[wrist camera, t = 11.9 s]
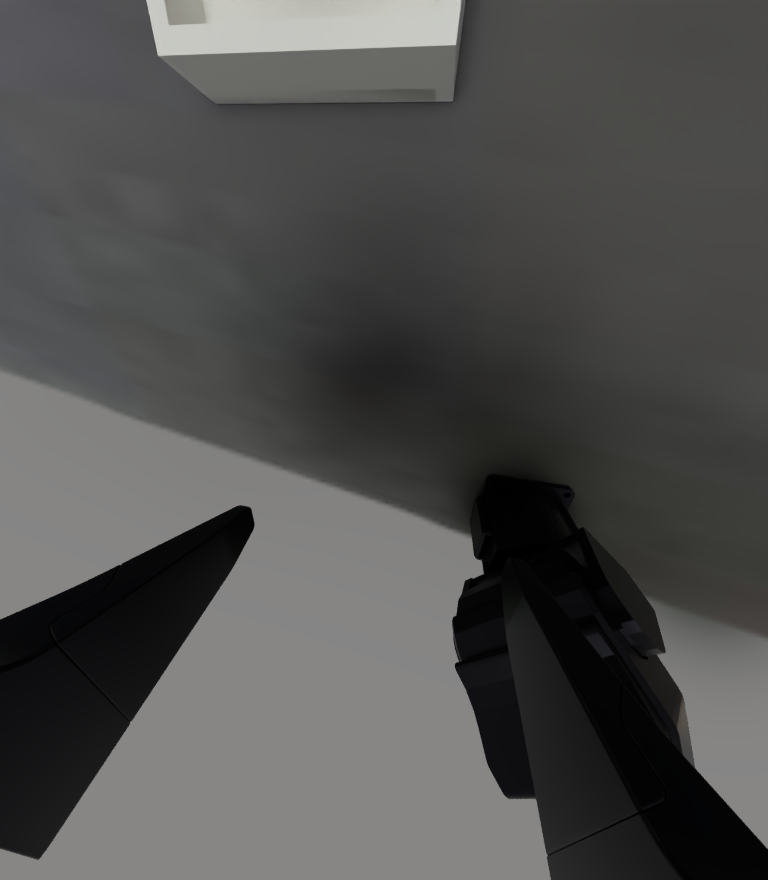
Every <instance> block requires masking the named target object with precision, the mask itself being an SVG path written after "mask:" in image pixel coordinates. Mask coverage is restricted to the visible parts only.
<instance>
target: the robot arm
mask: <svg viewBox="0 0 768 880" xmlns="http://www.w3.org/2000/svg"><path fill="white" fill-rule="evenodd" d="M490 481H495V482H494V483H490ZM568 492H569V493H568ZM565 493H568V494H565ZM564 494H565V495H564ZM574 495H575V494H574V492H573V490H572V489H571V488H570V487H566V486H560V485H553V484H547V483H540V482H534V481H528V480H521V479H515V478H509V477H502V476H496V475H490V476H488V477H487V478H486V480H485V483H484V487H483V490H482V493H481V497H477V498H476V500H475V504H474V507H473V510H472V514H471V517H470V526H471V534H472V542H473V550H474V556H475V558H476V559H478V560H482V564H483V571H484V574H483V575H481V576H479V577H476V578H474V579H473V578H470V579H468V580H466V581H465V583H464V587H463V591H462V595H461V597H460V598H459V601H458V608H457V615H456V616H454V617H453V620H452V627H453V639H454V645H455V650H456V653H457V657H458V660H459V662H457V663H456V664H455V668H456V671H457V673H458V675H459V677H460V678H461V681H462V683H463V685H464V687H465V689H466V691H467V694H468V696H469V699H470V702H471V705H472V707H473V710H474V713H475V716H476V720H477V724H478V727H479V732H480V735H481V740H482V744H483V748H484V752H485V756H486V760H487V763H488V766H489V768H490V770H491V772H492V774H493V776H494V778H495V779H496V781H497V783H498V785H499V787H500V788H501V790H502V792H503V794H504V795H505V796H506V797H507V798H509V799H536V800H537V805H538V811H539V816H540V821H541V826H542V832H543V837H544V843H545V848H546V853H547V855H548V856H547V860H548V866H549V871H550V876H551V880H768V849H767V848H766V847H765V846H764V845H763V843H762V842H761V841H760V840H759V839H758V838H757V837H756V836H755V835H754V834H753V832H752V831H751V830H750V829H749V828H748V827H747V826H746V825H745V823H744V822H743V821H742V820H741V819H740V818H739V817H738V816H737V815H736V814H735V812H734V811H733V810H732V809H731V808H730V807H729V806H728V805H727V803H726V802H725V801H724V800H723V799H722V798H721V797H720V796H719V794H718V793H717V792H716V791H715V790H714V789H713V788H712V787H711V786H710V785H709V783H708V782H707V781H706V780H705V779H704V778H703V777H702V776H701V774H700V773H699V772H697V770H696V769H695V765H694V758H693V752H692V747H691V740H690V734H689V727H688V721H687V716H686V709H685V702H684V699H683V695H682V693H681V692H680V690H679V688H678V687H677V685H676V683H675V682H674V680H673V679H672V677H671V676H670V674H669V673H668V671H667V670H666V668H665V667H664V666H663V664H662V662H661V661H660V659H659V658H658V656H657V655H658V654H663V653H665V647H664V643H663V639H662V636H661V632H660V628H659V625H658V622H657V618H656V614H655V611H654V609H653V608H652V606H651V605H650V603H649V602H648V600H647V599H646V598H645V596H644V595H643V594H642V592H641V591H640V589H639V588H638V587H637V585H636V584H635V582H634V581H633V580H632V578H631V577H630V576H629V574H628V573H627V572H626V570H625V569H624V568H623V567H622V566H621V565H620V564H619V563H618V562H617V561H616V560H615V559H614V558H613V557H612V556H611V555H610V554H609V553H608V552H607V551H606V550H605V549H604V548H603V547H602V546H601V545H600V544H599V543H598V541H597V540H596V539H595V538H594V537H593V536H592V535H591V534H590V533H589V532H588V531H587V530H586V529H585V528H584V527H582V528H580V529H578V528H577V526H576V525H575V523H574V521H573V519H572V518H571V516H570V514H569V512H568V511H567V510H568V508H569V506H570V504H571V502H572V500H573V498H574ZM253 529H254V519H253V514H252V510H251V508H250V507H247V506H241V505H240V506H236V507H234V508H232V509H230V510H228V511H226V512H224V513H222V514H220V515H218V516H216V517H214V518H212V519H210V520H209V521H206V522H204V523H202V524H200V525H198V526H196V527H194V528H192V529H190V530H188V531H186V532H184V533H182V534H180V535H178V536H176V537H174V538H172V539H171V540H168V541H166V542H164V543H162V544H160V545H158V546H156V547H154V548H152V549H150V550H148V551H146V552H144V553H142V554H140V555H139V556H136V557H134V558H132V559H130V560H129V561H126V562H124V563H122V565H118V566H116V567H114V568H112V569H110V570H108V571H106V572H104V573H102V574H100V575H98V576H96V577H94V578H92V579H90V580H88V581H86V582H83V583H81V584H79V585H77V586H75V587H73V588H70V589H68V590H66V591H64V592H62V593H59V594H57V595H55V596H53V597H51V598H48V599H46V600H44V601H41V602H39V603H37V604H35V605H32V606H30V607H28V608H25V609H23V610H21V611H19V612H16V613H14V614H12V615H10V616H7V617H5V618H3V619H1V620H0V849H3V850H6V851H10V852H13V853H16V854H20V855H23V856H27V857H30V858H34V859H37V860H38V859H40V857H41V856H42V855H43V853H44V852H45V851H46V849H47V848H48V847H49V845H50V844H51V842H52V841H53V839H54V838H55V836H56V835H57V833H58V832H59V830H60V829H61V827H62V826H63V824H64V823H65V821H66V820H67V818H68V817H69V815H70V813H71V812H72V811H73V809H74V808H75V806H76V804H77V803H78V802H79V800H80V798H81V797H82V795H83V794H84V792H85V791H86V789H87V788H88V786H89V784H90V783H91V782H92V780H93V779H94V777H95V776H96V774H97V773H98V771H99V770H100V768H101V767H102V765H103V764H104V762H105V761H106V759H107V758H108V756H109V755H110V753H111V752H112V750H113V749H114V747H115V746H116V744H117V743H118V741H119V740H120V738H121V737H122V735H123V734H124V732H125V731H126V729H127V727H128V726H129V724H130V722H131V721H132V720H133V718H134V717H135V715H136V714H137V712H138V711H139V709H140V708H141V706H142V704H143V703H144V701H145V700H146V699H147V697H148V696H149V694H150V693H151V691H152V690H153V688H154V686H155V685H156V683H157V682H158V680H159V679H160V677H161V676H162V674H163V673H164V671H165V670H166V668H167V667H168V665H169V664H170V662H171V661H172V659H173V658H174V656H175V655H176V653H177V652H178V650H179V649H180V647H181V646H182V644H183V643H184V641H185V640H186V638H187V637H188V635H189V633H190V632H191V631H192V629H193V628H194V626H195V625H196V623H197V622H198V620H199V619H200V617H201V615H202V614H203V612H204V611H205V610H206V608H207V606H208V605H209V603H210V602H211V600H212V599H213V597H214V596H215V594H216V593H217V591H218V590H219V588H220V586H221V585H222V584H223V582H224V581H225V579H226V578H227V576H228V575H229V573H230V571H231V570H232V568H233V567H234V565H235V563H236V561H237V559H238V557H239V556H240V554H241V552H242V550H243V548H244V546H245V544H246V542H247V540H248V539H249V537H250V535H251V533H252V531H253Z"/></svg>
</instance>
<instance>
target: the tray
mask: <svg viewBox="0 0 768 880" xmlns="http://www.w3.org/2000/svg"><path fill="white" fill-rule="evenodd" d="M465 3H466V0H147V5H148V10H149V14H150V19H151V24H152V29H153V34H154V38H155V43H156V48H157V53H158V56H159V57H160V58H161V59H163V60H164V61H165V62H166V63H167V64H168V65H170V66H171V67H172V68H173V69H174V70H176V71H177V72H178V73H179V74H180V75H182V76H183V77H184V78H185V79H186V80H188V81H189V82H190V83H191V84H192V85H194V86H195V87H196V88H197V89H198V90H200V91H201V92H202V93H203V94H204V95H206V96H207V97H208V98H209V99H210V100H212V101H213V102H214V103H215V104H277V103H374V102H453V97H454V89H455V81H456V73H457V65H458V57H459V50H460V42H461V34H462V26H463V18H464V10H465Z"/></svg>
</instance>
